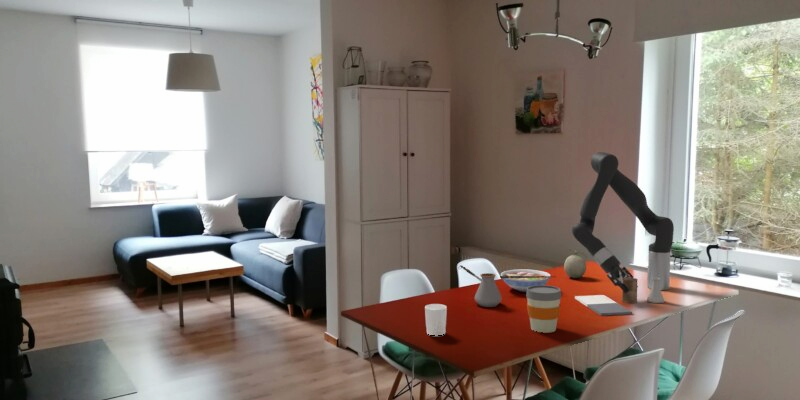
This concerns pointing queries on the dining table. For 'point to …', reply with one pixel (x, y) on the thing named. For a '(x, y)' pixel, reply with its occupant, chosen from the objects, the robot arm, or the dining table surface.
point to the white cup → (435, 319)
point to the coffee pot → (486, 290)
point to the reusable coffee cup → (543, 307)
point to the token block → (630, 290)
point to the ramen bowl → (524, 278)
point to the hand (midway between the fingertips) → (632, 290)
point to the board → (603, 305)
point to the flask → (655, 292)
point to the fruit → (575, 265)
